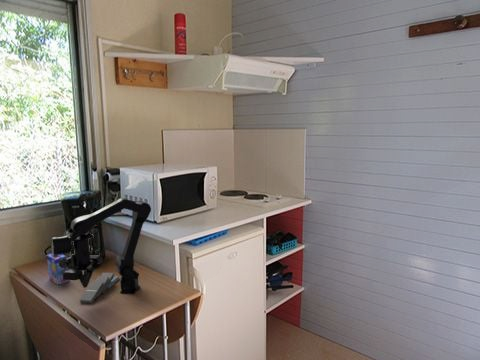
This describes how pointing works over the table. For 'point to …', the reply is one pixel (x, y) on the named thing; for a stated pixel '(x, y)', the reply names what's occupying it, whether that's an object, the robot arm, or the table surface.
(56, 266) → the ink cartridge box
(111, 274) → the domino
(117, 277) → the domino
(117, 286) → the table surface
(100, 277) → the domino
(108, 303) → the table surface
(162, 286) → the table surface
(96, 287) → the domino
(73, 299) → the table surface
